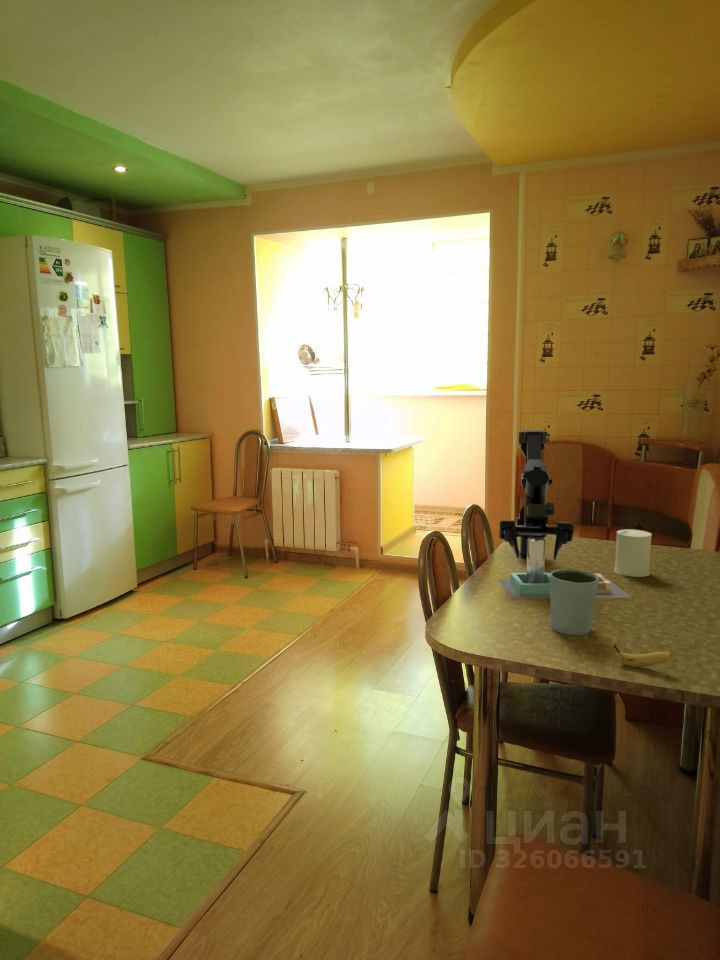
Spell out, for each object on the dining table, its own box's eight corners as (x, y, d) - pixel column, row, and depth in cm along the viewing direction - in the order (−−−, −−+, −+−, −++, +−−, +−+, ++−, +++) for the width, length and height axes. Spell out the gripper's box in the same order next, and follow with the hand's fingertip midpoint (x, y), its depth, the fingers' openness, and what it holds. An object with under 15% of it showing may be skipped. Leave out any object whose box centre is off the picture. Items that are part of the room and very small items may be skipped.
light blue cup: (545, 618, 152) (547, 567, 150) (592, 621, 150) (594, 569, 148) (550, 635, 142) (552, 581, 140) (600, 638, 140) (602, 583, 138)
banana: (670, 670, 124) (671, 650, 124) (669, 675, 122) (671, 654, 122) (613, 660, 129) (614, 641, 128) (612, 665, 127) (613, 645, 126)
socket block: (567, 582, 177) (567, 573, 176) (598, 582, 177) (599, 573, 176) (577, 592, 168) (578, 583, 168) (610, 592, 168) (611, 583, 168)
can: (610, 567, 191) (612, 527, 189) (643, 568, 190) (645, 527, 189) (619, 577, 182) (621, 534, 180) (654, 578, 181) (657, 535, 180)
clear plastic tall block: (527, 583, 175) (529, 536, 173) (544, 585, 174) (546, 538, 171) (524, 589, 172) (526, 540, 169) (542, 591, 170) (543, 542, 167)
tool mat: (497, 580, 180) (497, 579, 180) (607, 579, 180) (607, 578, 180) (511, 599, 164) (511, 598, 164) (631, 598, 165) (631, 597, 164)
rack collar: (510, 582, 178) (510, 573, 177) (549, 581, 178) (549, 572, 177) (519, 594, 167) (520, 585, 167) (560, 594, 167) (561, 584, 167)
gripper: (500, 490, 174) (499, 540, 165) (574, 492, 171) (577, 544, 162) (499, 513, 183) (498, 562, 174) (570, 515, 179) (572, 566, 170)
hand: (536, 558), depth 170 cm, fingers open, 9 cm apart
